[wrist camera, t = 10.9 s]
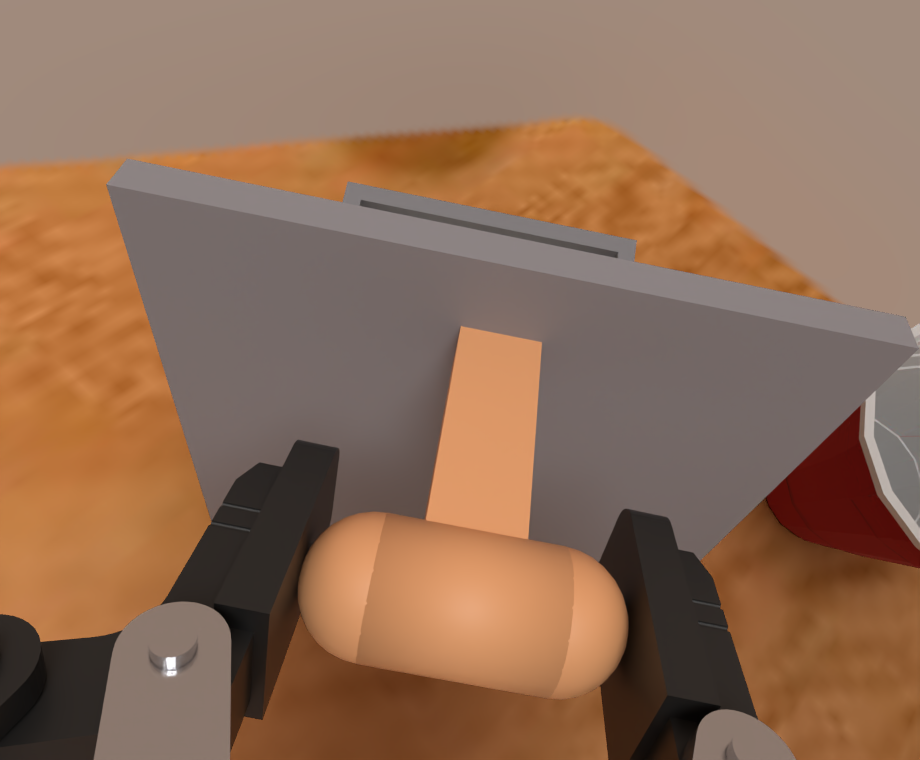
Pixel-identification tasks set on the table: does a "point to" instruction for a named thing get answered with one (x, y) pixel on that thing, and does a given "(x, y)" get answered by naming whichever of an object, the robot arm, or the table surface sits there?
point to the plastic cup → (864, 477)
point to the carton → (489, 221)
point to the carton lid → (479, 411)
